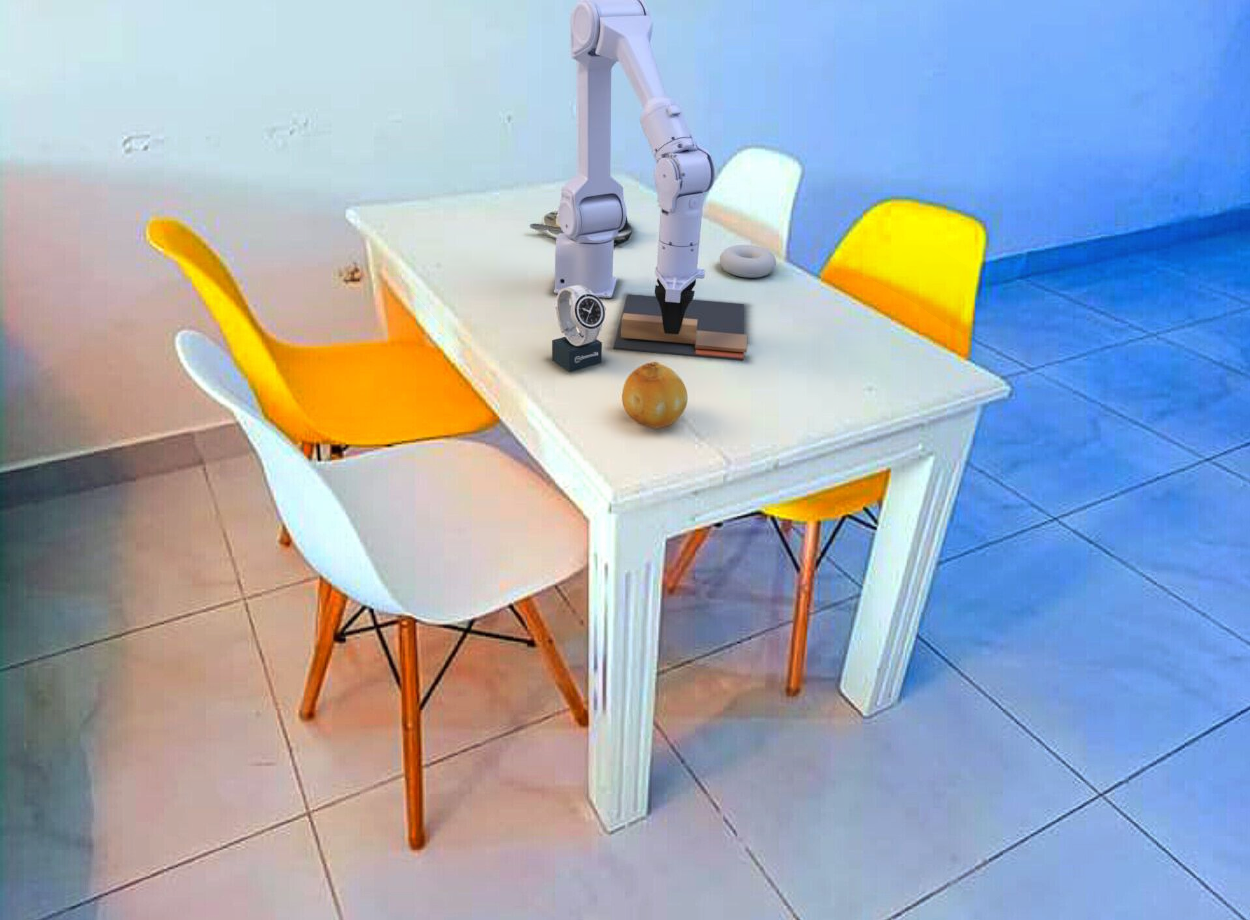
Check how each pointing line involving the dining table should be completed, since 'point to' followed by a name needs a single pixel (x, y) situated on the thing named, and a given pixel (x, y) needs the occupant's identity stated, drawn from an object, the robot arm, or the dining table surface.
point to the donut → (747, 261)
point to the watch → (588, 319)
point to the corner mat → (706, 312)
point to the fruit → (654, 395)
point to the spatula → (680, 333)
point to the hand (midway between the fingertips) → (672, 329)
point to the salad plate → (553, 229)
